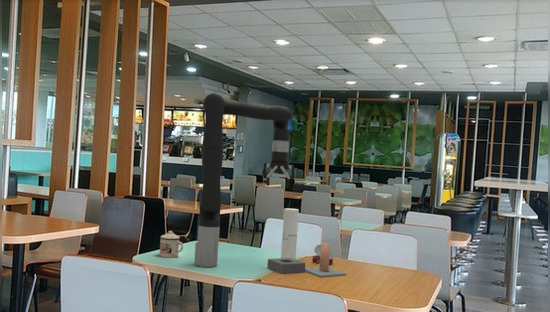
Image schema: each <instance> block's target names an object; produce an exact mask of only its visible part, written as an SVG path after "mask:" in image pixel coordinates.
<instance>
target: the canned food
mask: <svg viewBox="0 0 550 312" xmlns="http://www.w3.org/2000/svg"><path fill="white" fill-rule="evenodd" d="M313 250H314V253H315V254H316V255H312V259H311V260H312V261H311V263H312V262H313V263H312V264H314V263H316V264H315V265H317V264H320V254H321V244H317V245H316V246H314V249H313ZM333 259H334V255H333V254H332V252H331V251H330V257H329V266H332V265H333V264H334V263H333V262H334V260H333ZM331 264H332V265H331Z"/></svg>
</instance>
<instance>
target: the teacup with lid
mask: <svg viewBox="0 0 550 312" xmlns="http://www.w3.org/2000/svg"><path fill="white" fill-rule="evenodd" d="M180 239H181V237H180V236H179V235H177V234H175V233H174V232H173V231H172V230H169V231H168V232H167V233H165V234H163V235H161V236H160V242H159V243H160V244H159V257H162V258H170V259H171V258H178V257H179V253H181V252H183V250H184V243H183V242H181V241H180ZM179 248H180V249H179Z"/></svg>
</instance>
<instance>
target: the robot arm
mask: <svg viewBox="0 0 550 312" xmlns="http://www.w3.org/2000/svg"><path fill="white" fill-rule="evenodd" d="M202 109H203V111H204V118H205V123H204V124H205V125H204V131H203V135H202V136H203V137H202V144H201V169H202V176H203V179H202V191H201V196H200V199H199V212H198V213H199V214H198V230H197V241H196V242H195V246H194V248H195V249H194V261H193V262H194V263H193V264H194V265H195V266H197V267H201V268H203V267H205V268H213V267H216V266H218V256H219V255H218V254H219V245H220V244H219V242H220V241H219V240H220V225H221V207H222V202H223V200H222V199H223V197H222V192H221V191H222V189H221V175H222V168H223V159H224V134H223V120H224V115H225V116H229V115H230V116H236V117H237V116H238V117H243V118H248V119H255V120H261V121H269V120H270V121H273V136H272V137H273V138H272V144H271V146H272V147H271V160H270V161H271V162H270V163H267V162H264V163H263V171H262V177H264V178H265V179H266V183H265V184H266V186H267V187H270V181H271V180H270V179H271V178H270V177H271V176H272V175H273V174H280V175H281V174H284V176H286V178H287V179H286V188H287V189H288V188H289V187H290V185H291V184H290V183H291V179H294V178H295V165H294V164H288V163H289V150H290V149H289V148H290V147H289V146H290V145H289V144H290V142H289V141H290V130H289V129H288V127H289V125H288V124H289V121H291V119H292V115H293V113H292V110H291V109H290V108H289V107H287V106H281V105H269V104H264V103H258V102H257V103H256V102H246V101H245V102H243V101H235V100H229V99H225V98H224V97H223V96H222V95H221V94H220V93H216V92H212V93H210V94H208V95H206V97H204V100H203V102H202ZM268 168H271V170H270V172H269V173H268V174H267V169H268ZM287 169H290V171H291V175H289V173H288V171H287Z"/></svg>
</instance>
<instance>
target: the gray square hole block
mask: <svg viewBox="0 0 550 312" xmlns="http://www.w3.org/2000/svg"><path fill="white" fill-rule="evenodd" d="M266 266H267V267H266V268H267V269H269V270H271V271H274V272H276V271H277V272H276V273H278V272H279V273H278V274H281V273H282V274H281V275H284V274H283V273H288V274H299V273H298V272H302V273H305V268H306V263H305V262H303V261H300V260H298V259H296V260H295V259H292V258H281V257H280V258H278V257H277V258H268V259H267V265H266Z"/></svg>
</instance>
